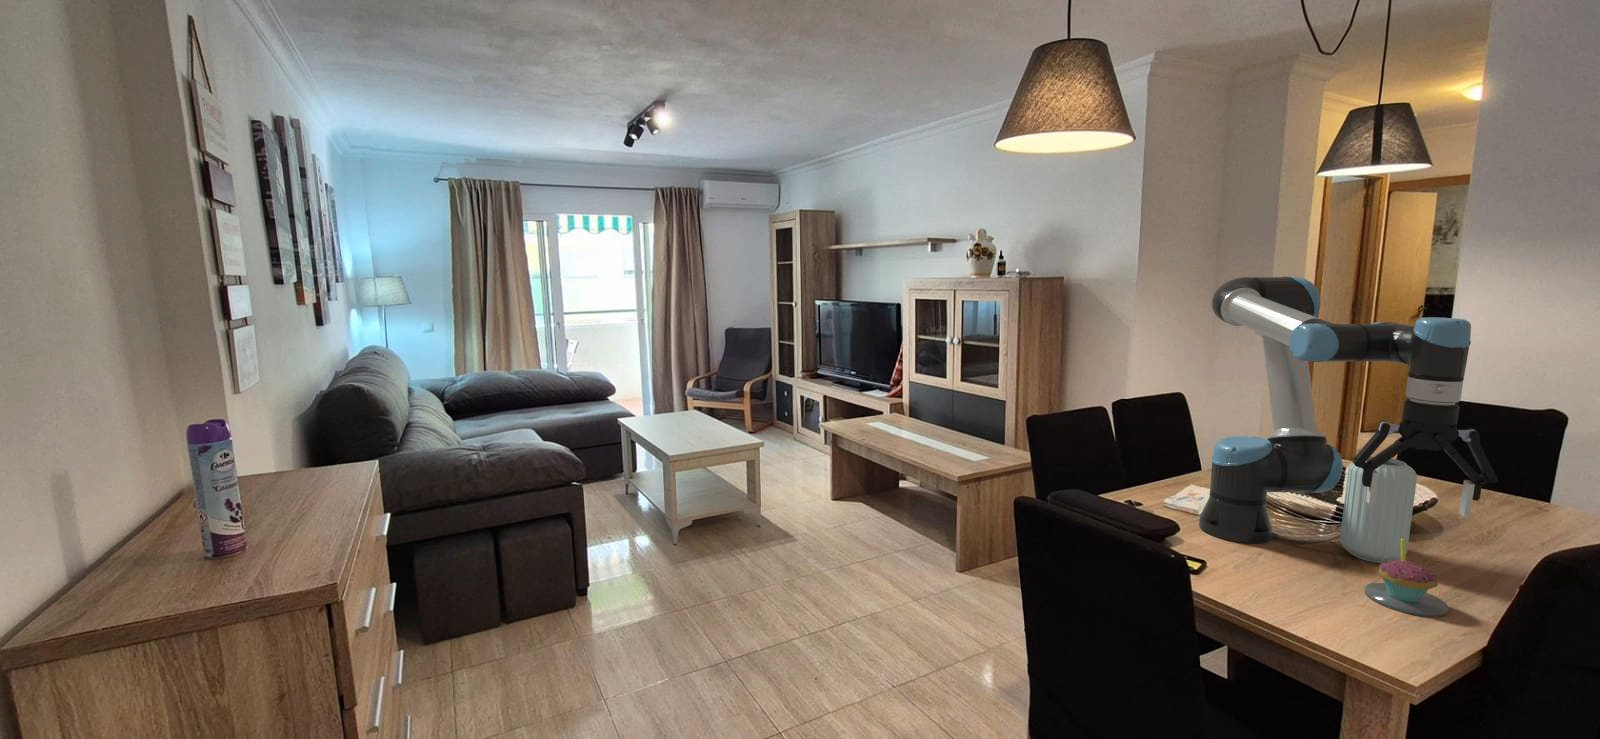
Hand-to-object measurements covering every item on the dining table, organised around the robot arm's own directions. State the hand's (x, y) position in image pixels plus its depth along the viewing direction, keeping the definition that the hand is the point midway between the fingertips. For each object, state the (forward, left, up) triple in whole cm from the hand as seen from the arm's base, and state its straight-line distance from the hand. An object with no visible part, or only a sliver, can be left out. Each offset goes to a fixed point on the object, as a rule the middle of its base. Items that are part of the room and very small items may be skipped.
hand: (1415, 509), depth 127 cm
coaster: (0, 0, -19) cm, 19 cm away
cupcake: (0, 0, -18) cm, 18 cm away
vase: (-1, +23, -19) cm, 30 cm away
